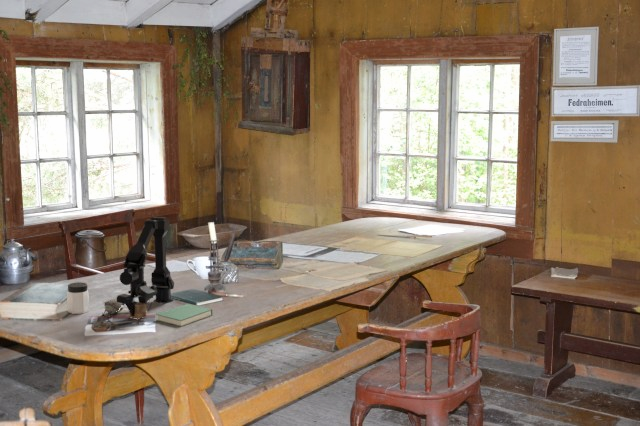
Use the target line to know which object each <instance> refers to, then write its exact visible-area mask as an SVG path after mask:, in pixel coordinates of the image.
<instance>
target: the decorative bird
mask: <svg viewBox="0 0 640 426" xmlns="http://www.w3.org/2000/svg"><path fill="white" fill-rule="evenodd" d="M103 304H104V313H102V315H101V316H102V317H103V316H104V317H105V314H106V313H108V315H107V317H108V316H111V315H112V314H116V313H117V312H116V311H118V310H119V308H120V307H121V305H124V306H125V304H123V303H119V302H117V297H116V298H113V299H110V300H107V301H105V302H103ZM115 312H116V313H115Z"/></svg>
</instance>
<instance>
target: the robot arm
mask: <svg viewBox="0 0 640 426" xmlns="http://www.w3.org/2000/svg"><path fill="white" fill-rule="evenodd" d="M169 227H170V220H169V219H168V218H167V217H165V216H164V217H163V216H152V217H151V218H148V219H146V220H144V224H143V227H142V230H141V232H140V235H139V237H138V238H137V241H136V243H135V244H134V245H133V246H131V247H130V248H129V250H128V252H127V254H126V257H125V261H124V264H123V268H124V269H123V272H121V273H120V275H119V281H120V283H121V284H122V285H124V286H130V287H129V288H130V289H129V290H128V292H127V293H128V294H127V293H122V294H118V295H117V296H116V298H117V302H119V303H123V304H124V305H125V306H126V307H127V309H128V312H129V311H130V313H131V315H132V316H134V314H135V304H136V303H137V302H140V303H145V304H146V305H147V304H148V301H150V300H151V299H153V298H154V297H155V299H154V300H153V302H155V303H161V304H166V303H169V302H172V301H174V299H173V298H172V297H171V296H172V295H171V294H172V293H171V291H172V290H174V288H175V282H174V280H173V279H172V276H171V271H170V270H169V268H168V266H167V253H166V252H167V251H166V250H167V249H166V235H167V233H168V231H169ZM152 237H154V238H153V240H154V243H153V244H154V258H155V259H154V262H155V263H154V264H155V268H154V270H153V271H152V272H151V280H150V281H151V286H150V285H147V280H145V272H144V271H145V267H146V265H145V264H146V261H147V259H148V252H147V249H148V247H149V244H150V243H151V240H152ZM135 299H138V301H136V300H135Z"/></svg>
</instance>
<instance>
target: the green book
mask: <svg viewBox="0 0 640 426" xmlns="http://www.w3.org/2000/svg"><path fill="white" fill-rule="evenodd" d="M155 316H157V319H156V321H158V322H161V323H165V324H170V325H173V326H175V327H176V326H177V327H184V326H186V325H189V324H191V323H195V322H198V321H200V320H202V319H203V320H204V319H206V318H208V317H211V316H213V309H212V308H209V307H205V306H200V305H198V304H197V305H196V304H191V303H185V304H182V305H180V306H176V307H174V308H173V307H172V308H171V309H168V310H166V311H162V312H159V313H156V314H155Z"/></svg>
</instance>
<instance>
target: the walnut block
mask: <svg viewBox="0 0 640 426" xmlns="http://www.w3.org/2000/svg"><path fill="white" fill-rule="evenodd" d="M136 302H137V303H136V304H135V314H134V316H132V315H131V313H130V311H129V310H128V317H132V318H137V319H138V318H142V317H145V316H146V317H147V304H145V303H140V302H139V301H136ZM142 319H143V318H142Z"/></svg>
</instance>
